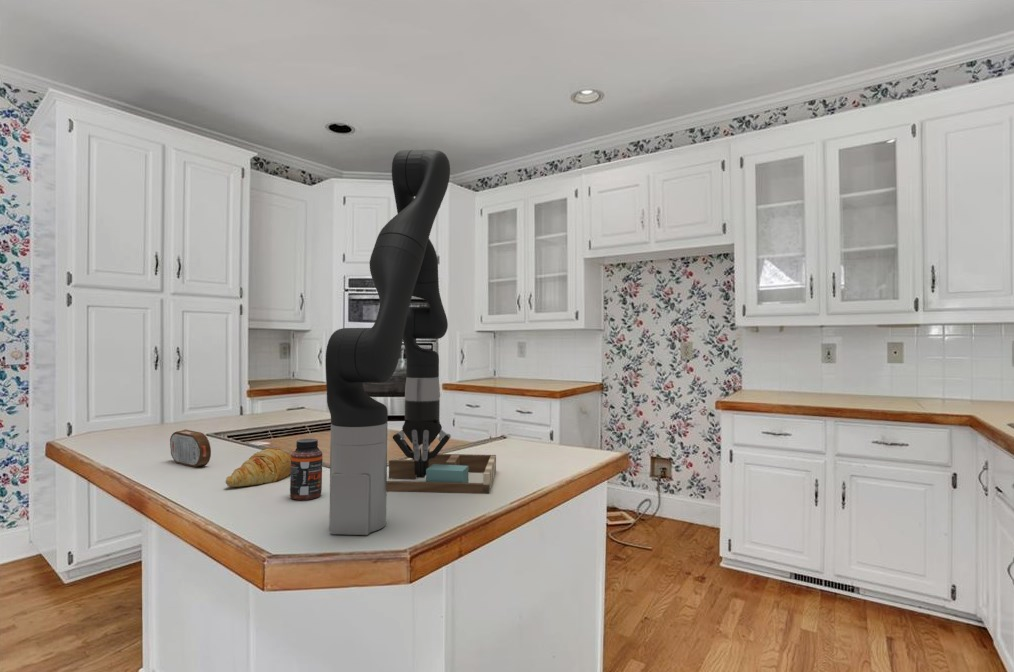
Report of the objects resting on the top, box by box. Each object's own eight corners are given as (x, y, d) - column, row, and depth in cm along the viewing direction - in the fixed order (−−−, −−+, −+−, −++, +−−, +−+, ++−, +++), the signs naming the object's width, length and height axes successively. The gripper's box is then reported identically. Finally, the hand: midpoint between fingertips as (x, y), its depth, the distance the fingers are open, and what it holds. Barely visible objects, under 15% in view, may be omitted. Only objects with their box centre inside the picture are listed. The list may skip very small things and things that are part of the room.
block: (462, 492, 111) (462, 471, 111) (425, 490, 112) (426, 469, 112) (468, 486, 116) (468, 465, 116) (433, 484, 117) (433, 464, 117)
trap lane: (489, 493, 109) (489, 473, 109) (375, 490, 110) (375, 471, 111) (495, 471, 128) (496, 454, 128) (398, 469, 130) (398, 453, 130)
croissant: (237, 508, 109) (252, 476, 108) (204, 481, 112) (218, 449, 111) (307, 481, 129) (320, 454, 128) (277, 459, 132) (290, 432, 131)
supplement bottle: (311, 502, 102) (311, 443, 102) (283, 500, 103) (284, 441, 104) (327, 493, 108) (328, 438, 108) (301, 491, 109) (302, 436, 110)
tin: (211, 467, 130) (212, 433, 130) (198, 470, 128) (199, 434, 128) (180, 460, 138) (180, 427, 138) (167, 462, 136) (167, 429, 136)
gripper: (387, 399, 113) (387, 481, 113) (449, 400, 112) (449, 482, 112) (396, 395, 120) (395, 472, 120) (454, 396, 120) (453, 473, 119)
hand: (421, 477), depth 116 cm, fingers closed
